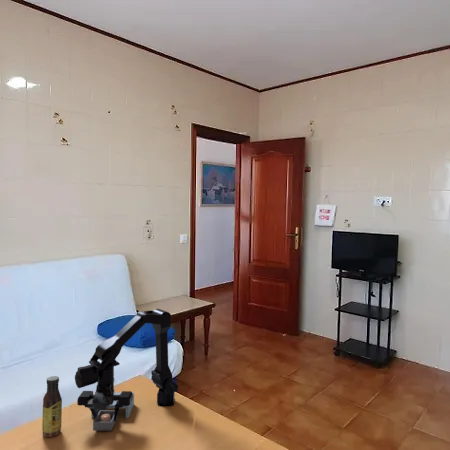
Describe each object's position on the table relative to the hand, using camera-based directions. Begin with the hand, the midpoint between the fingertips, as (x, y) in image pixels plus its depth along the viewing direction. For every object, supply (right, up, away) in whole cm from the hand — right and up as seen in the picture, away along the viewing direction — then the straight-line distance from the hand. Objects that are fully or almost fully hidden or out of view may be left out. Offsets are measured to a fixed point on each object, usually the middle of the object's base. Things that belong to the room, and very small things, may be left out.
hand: (105, 420), depth 141 cm
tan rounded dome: (0, -1, 0) cm, 1 cm away
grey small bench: (0, -2, +11) cm, 11 cm away
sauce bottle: (-18, -3, -3) cm, 19 cm away
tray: (0, -1, 0) cm, 1 cm away
